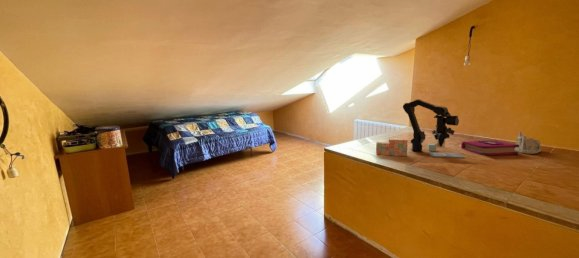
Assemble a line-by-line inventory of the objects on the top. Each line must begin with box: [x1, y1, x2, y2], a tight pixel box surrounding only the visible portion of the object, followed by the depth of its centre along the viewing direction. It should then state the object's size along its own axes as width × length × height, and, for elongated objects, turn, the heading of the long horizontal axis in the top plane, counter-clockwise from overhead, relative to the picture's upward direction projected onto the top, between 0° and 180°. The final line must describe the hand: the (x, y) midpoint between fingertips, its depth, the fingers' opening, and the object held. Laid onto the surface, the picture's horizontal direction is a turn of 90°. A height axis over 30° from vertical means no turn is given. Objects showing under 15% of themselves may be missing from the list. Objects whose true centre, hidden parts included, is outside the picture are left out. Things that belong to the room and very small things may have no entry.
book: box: [460, 139, 519, 157], centre depth 187 cm, size 21×28×8 cm
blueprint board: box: [427, 151, 466, 159], centre depth 178 cm, size 20×12×1 cm, turn 74°
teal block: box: [426, 143, 437, 152], centre depth 195 cm, size 5×5×5 cm
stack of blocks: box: [375, 137, 409, 157], centre depth 185 cm, size 21×6×12 cm, turn 74°
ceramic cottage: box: [515, 131, 542, 155], centre depth 183 cm, size 16×16×15 cm
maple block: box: [434, 138, 446, 149], centre depth 178 cm, size 5×5×5 cm
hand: (439, 145), depth 178 cm, fingers closed on maple block, 5 cm apart
